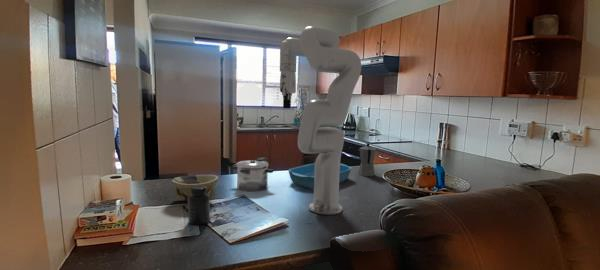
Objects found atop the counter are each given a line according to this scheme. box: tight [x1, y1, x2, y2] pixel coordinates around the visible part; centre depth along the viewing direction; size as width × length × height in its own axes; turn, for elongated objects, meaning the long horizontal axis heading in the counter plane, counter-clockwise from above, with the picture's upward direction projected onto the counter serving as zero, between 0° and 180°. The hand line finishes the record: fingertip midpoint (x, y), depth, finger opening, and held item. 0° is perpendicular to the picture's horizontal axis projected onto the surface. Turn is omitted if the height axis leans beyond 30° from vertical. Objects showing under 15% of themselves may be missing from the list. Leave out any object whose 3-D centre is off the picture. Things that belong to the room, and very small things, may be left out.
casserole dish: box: [288, 162, 352, 190], centre depth 166 cm, size 37×22×7 cm, turn 139°
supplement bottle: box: [187, 185, 211, 226], centre depth 109 cm, size 7×7×12 cm
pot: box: [232, 165, 274, 192], centre depth 151 cm, size 15×20×10 cm
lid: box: [236, 156, 269, 169], centre depth 154 cm, size 20×15×2 cm
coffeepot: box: [357, 142, 377, 177], centre depth 182 cm, size 15×9×18 cm, turn 175°
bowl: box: [171, 174, 219, 203], centre depth 130 cm, size 18×18×10 cm
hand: (286, 108), depth 153 cm, fingers closed
